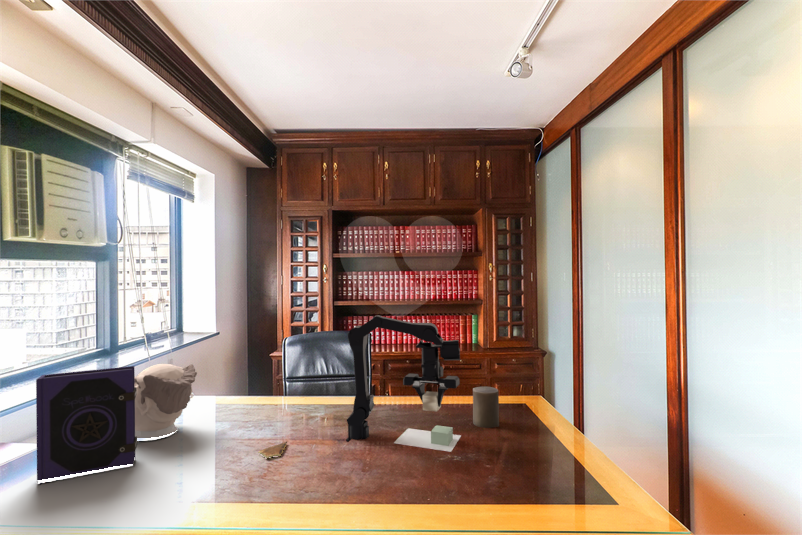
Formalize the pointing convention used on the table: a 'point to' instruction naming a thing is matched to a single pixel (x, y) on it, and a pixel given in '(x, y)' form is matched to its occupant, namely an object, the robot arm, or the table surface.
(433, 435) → the green block
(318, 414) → the table surface
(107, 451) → the book
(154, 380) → the bust
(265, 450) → the shard
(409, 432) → the pale grey board
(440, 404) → the robot arm
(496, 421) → the pillar candle
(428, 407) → the cream block
